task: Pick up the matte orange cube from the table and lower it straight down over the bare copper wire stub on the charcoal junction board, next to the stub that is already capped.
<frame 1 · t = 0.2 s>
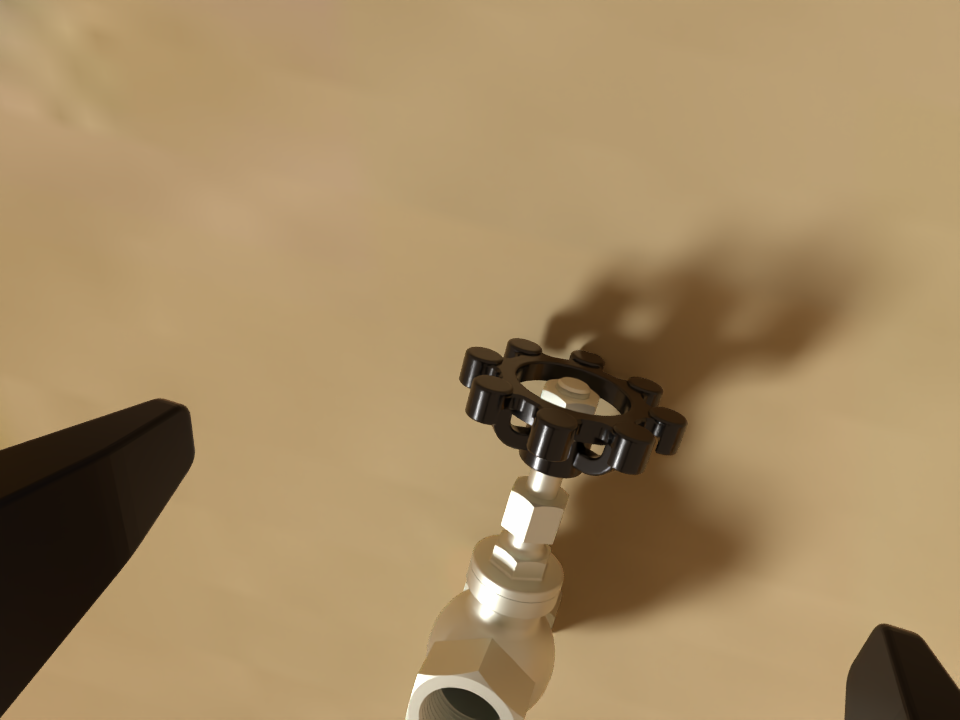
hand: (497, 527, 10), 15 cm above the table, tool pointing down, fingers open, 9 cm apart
valve: (543, 504, 27), on the table
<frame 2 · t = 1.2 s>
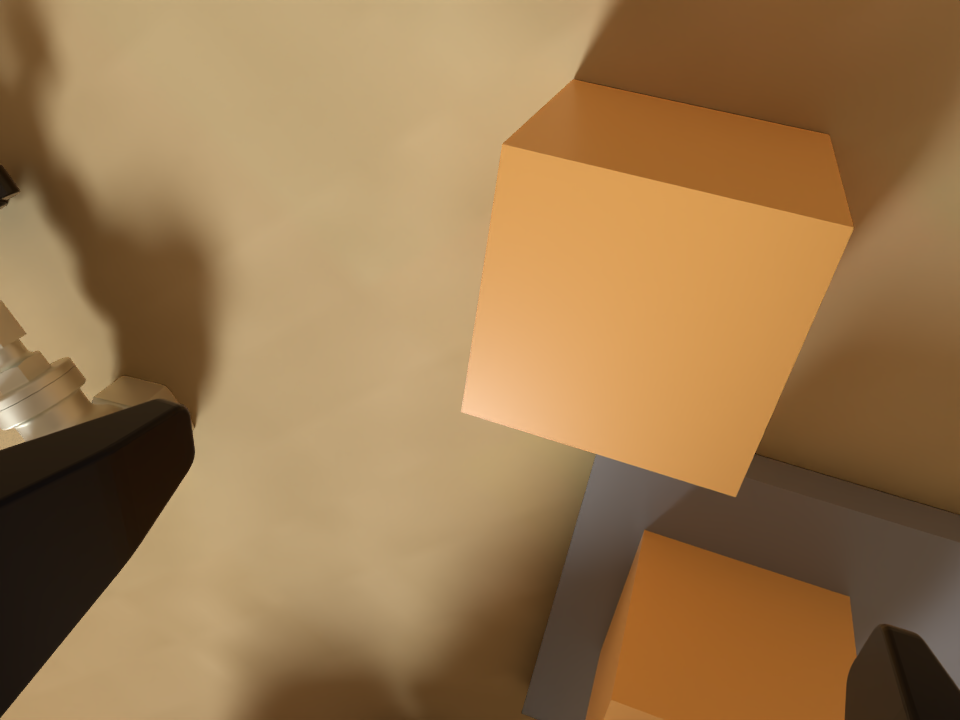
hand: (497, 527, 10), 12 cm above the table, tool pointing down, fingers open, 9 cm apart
junction board: (860, 670, 25), on the table
matte orange cube: (662, 224, 19), on the table
valve: (97, 326, 28), on the table
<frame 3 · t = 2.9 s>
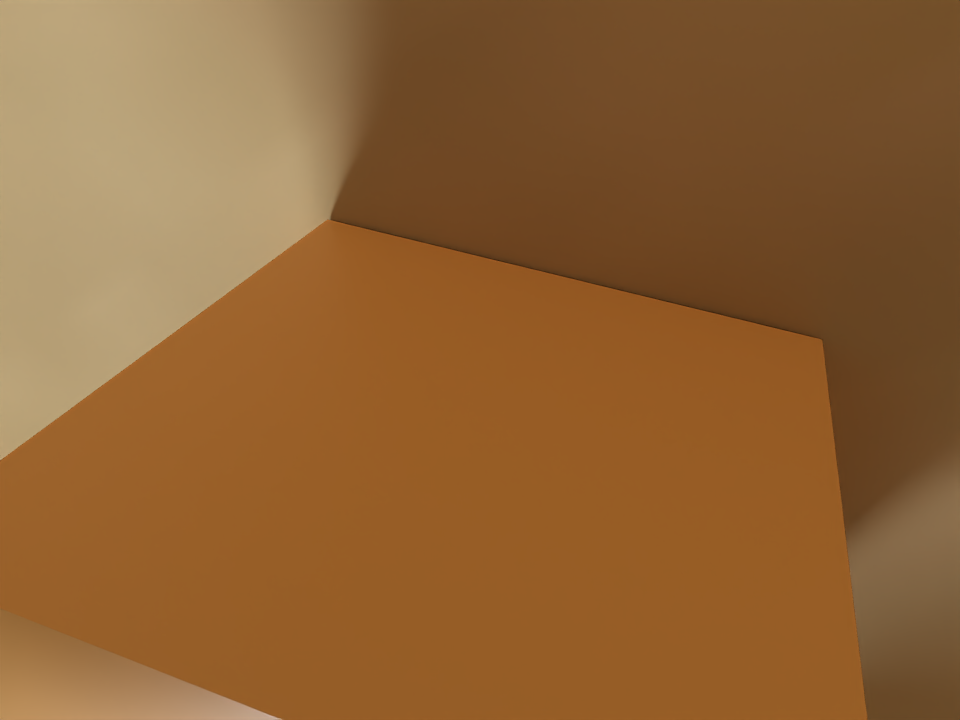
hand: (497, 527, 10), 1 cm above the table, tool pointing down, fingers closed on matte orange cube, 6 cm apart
matte orange cube: (522, 467, 11), on the table, touching gripper
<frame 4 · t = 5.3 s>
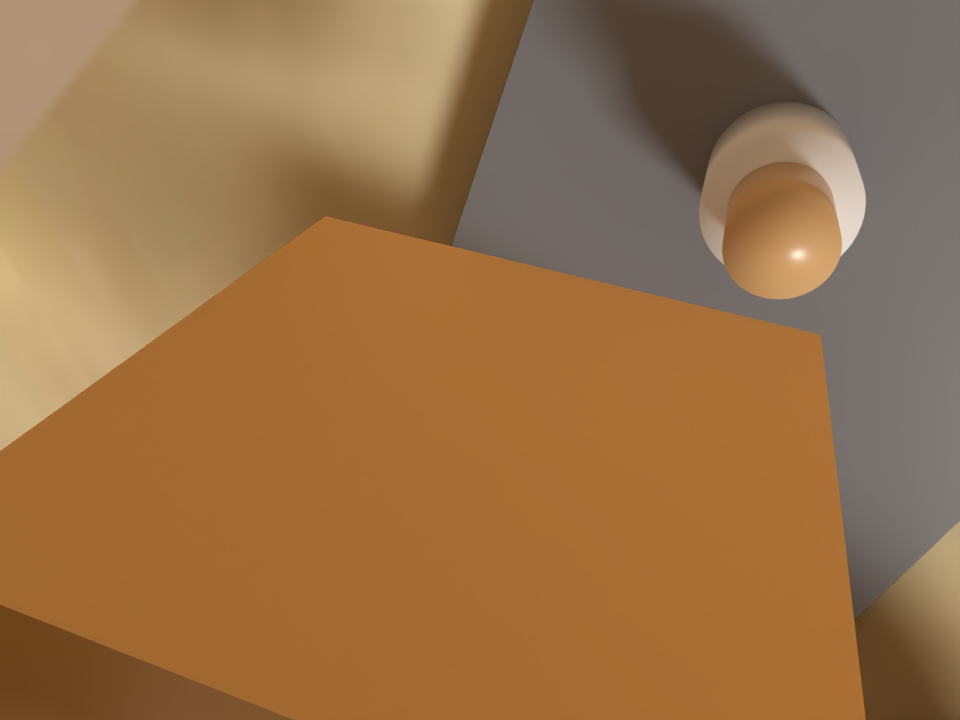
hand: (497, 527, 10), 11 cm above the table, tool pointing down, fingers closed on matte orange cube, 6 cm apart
junction board: (710, 349, 19), on the table
matte orange cube: (521, 464, 11), point 10 cm above the table, touching gripper
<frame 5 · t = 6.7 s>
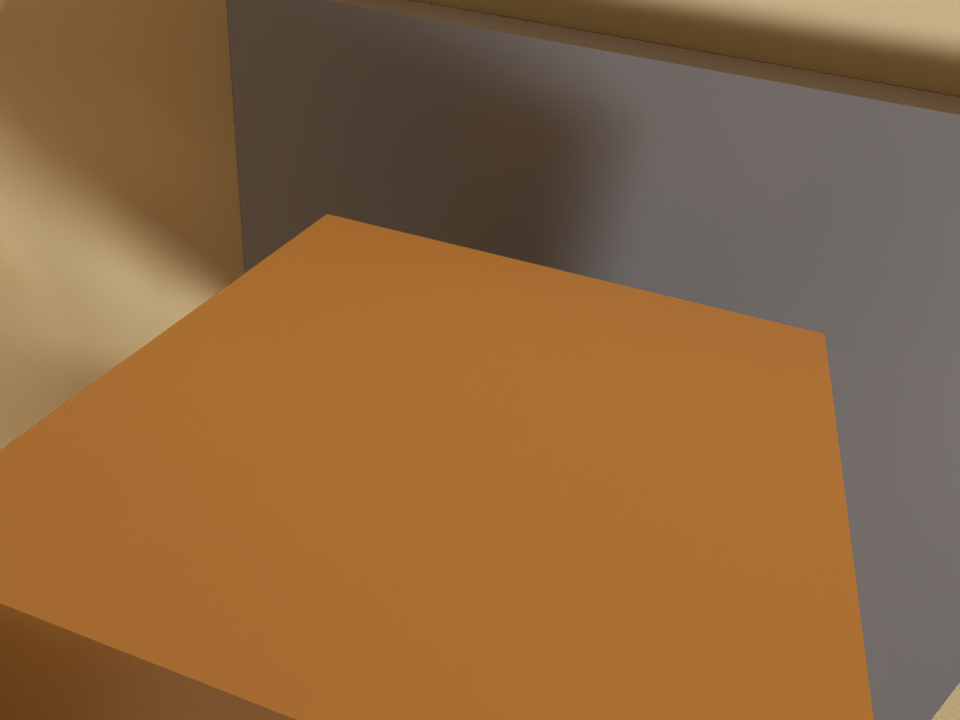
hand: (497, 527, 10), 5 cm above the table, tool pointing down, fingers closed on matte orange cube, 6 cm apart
junction board: (580, 544, 16), on the table
matte orange cube: (523, 463, 11), point 4 cm above the table, touching gripper
when the fingers open (3 cm above the table, at t = 7.9 s): matte orange cube stays where it is, resting on junction board.
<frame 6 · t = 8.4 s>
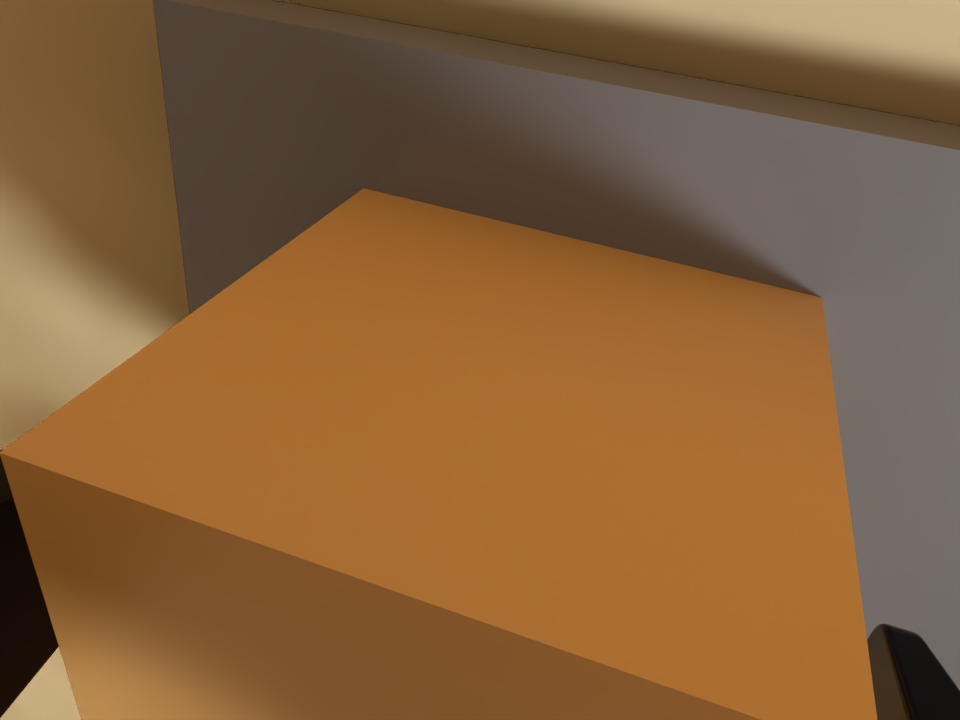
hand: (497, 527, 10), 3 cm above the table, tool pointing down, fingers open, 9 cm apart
junction board: (564, 605, 15), on the table
matte orange cube: (541, 423, 11), point 1 cm above the table, touching junction board
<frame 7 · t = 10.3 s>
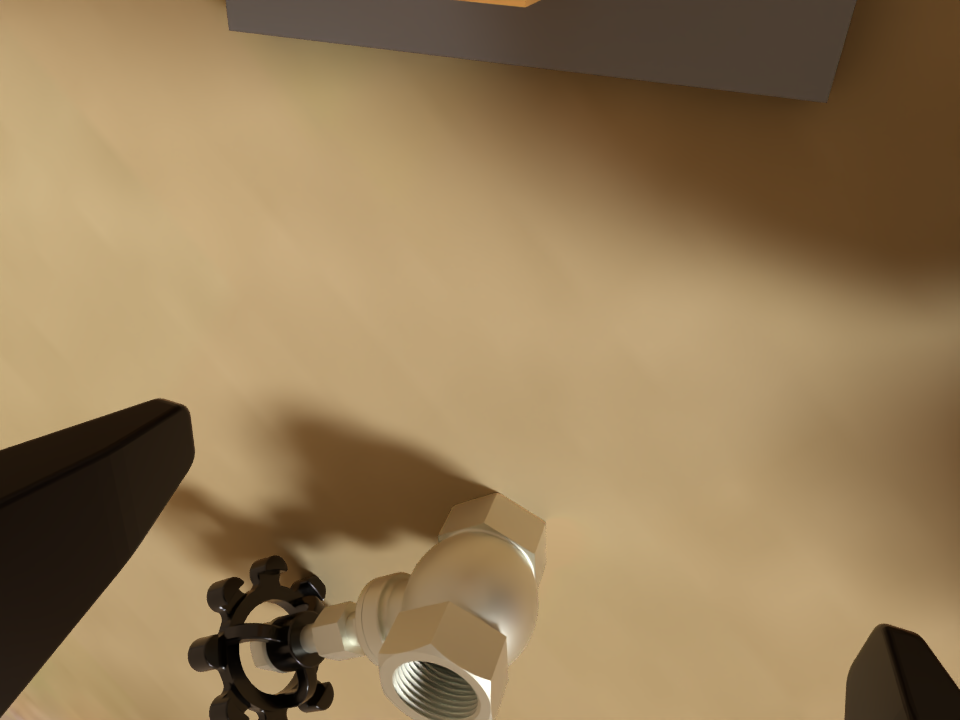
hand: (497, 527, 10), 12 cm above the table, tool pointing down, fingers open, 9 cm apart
valve: (417, 551, 29), on the table
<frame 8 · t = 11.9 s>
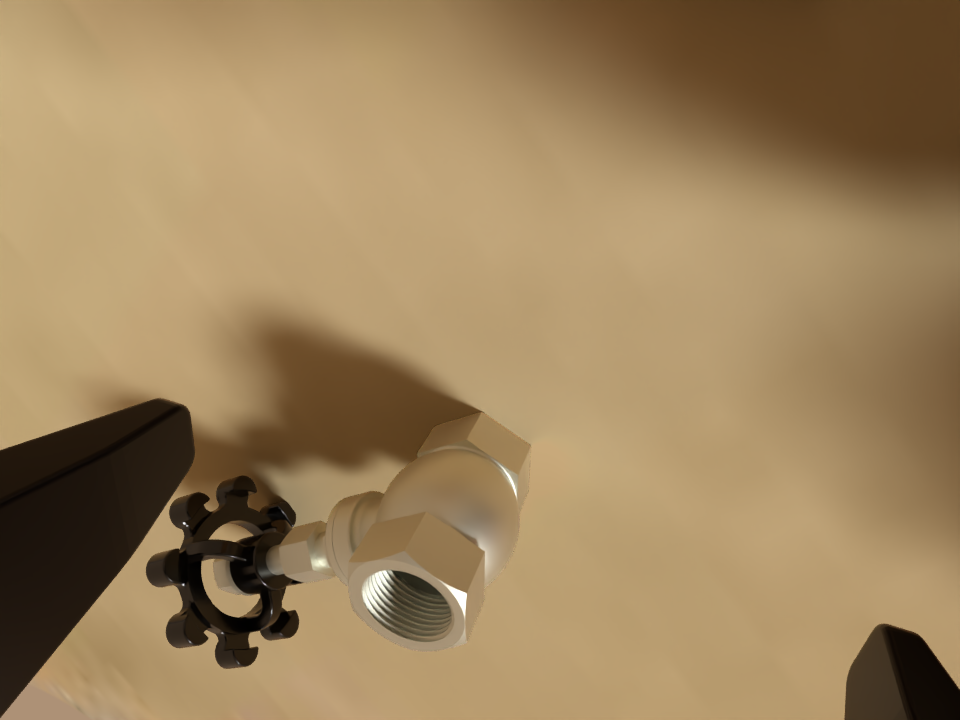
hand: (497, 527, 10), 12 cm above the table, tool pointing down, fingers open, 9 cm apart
valve: (394, 476, 27), on the table
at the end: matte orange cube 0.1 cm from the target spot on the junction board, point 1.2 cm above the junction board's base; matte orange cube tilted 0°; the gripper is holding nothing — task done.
